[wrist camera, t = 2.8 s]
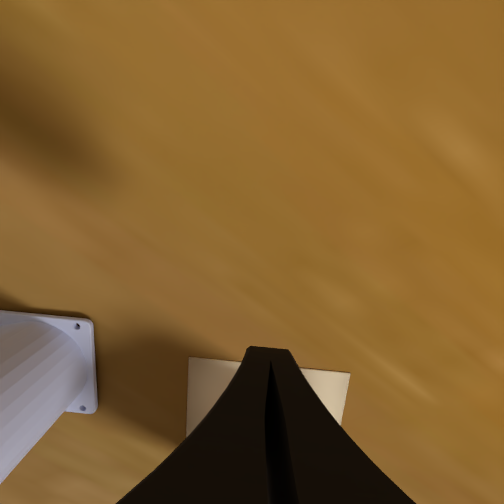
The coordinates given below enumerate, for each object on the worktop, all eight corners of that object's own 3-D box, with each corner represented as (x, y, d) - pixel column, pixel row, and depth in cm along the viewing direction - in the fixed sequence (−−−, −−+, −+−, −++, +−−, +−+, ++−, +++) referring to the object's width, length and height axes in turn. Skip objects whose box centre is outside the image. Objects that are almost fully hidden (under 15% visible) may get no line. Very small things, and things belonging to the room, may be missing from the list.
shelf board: (185, 469, 24) (184, 472, 24) (189, 355, 21) (188, 357, 21) (327, 484, 24) (328, 488, 23) (349, 370, 21) (350, 373, 21)
